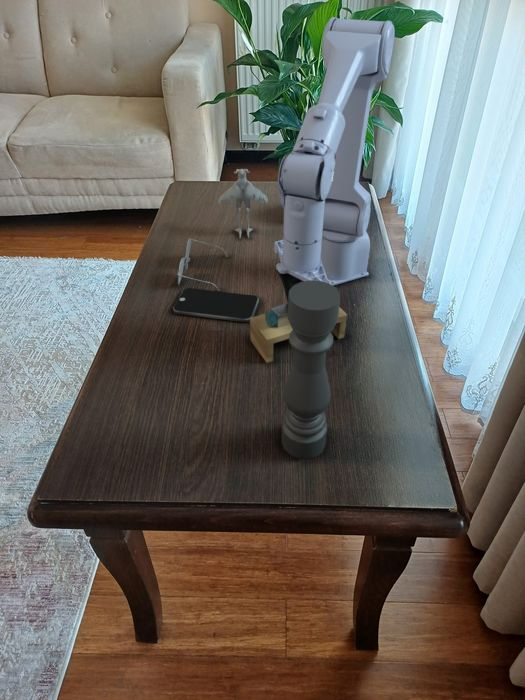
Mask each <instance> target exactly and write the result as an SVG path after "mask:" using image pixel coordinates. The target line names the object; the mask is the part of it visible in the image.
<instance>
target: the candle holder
mask: <svg viewBox="0 0 525 700" xmlns="http://www.w3.org/2000/svg"><path fill="white" fill-rule="evenodd" d="M287 303H288V320H289V322H290V325H291V327H292V329H293V330H292V331H291V332H290V335H289V339H288V342H289V345H290V347H291V349H293V362H292V366H291V368H290V371H289V374H288V376H287V379H286V382H285V384H284V387H283V392H282V393H283V395H282V397H283V401H284V403H285V405H286V408H287V410H286V411H285V413H284V418H283V419H282V425H281V445H282V447H283V450H284V451H285V452H286V453H288V454H289V456H292V457H294V458H297V459H302V460H303V459H304V460H308V459H312V458H316V457H317V456H319V455H320V454H322V453H323V451H324V449H325V447H326V441H327V433H328V423H327V416H326V414H325V411H326V409H327V408H328V406H329V404H330V403H331V387H330V383H329V382H330V381H329V377H328V372H327V368H326V358H327V353H328V351H330V349H331V348H332V346H333V345H334V334H333V333H332V332H331V331H332V330H333V328H334V326H335V325H336V323H337V322H338V313H339V307H340V303H341V292H340V291H339V290H338V288H337V287H335V285H334V286H332V285H331V284H329V283H326V282H322V281H313V280H310V281H304V282H300V283H298V284H296V285H294V286H293V287H292V288H291V289H290V290H289V298H288V302H287Z"/></svg>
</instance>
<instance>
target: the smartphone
mask: <svg viewBox="0 0 525 700" xmlns="http://www.w3.org/2000/svg"><path fill="white" fill-rule="evenodd" d="M259 301H260V299H259V296H258V297H257V296H256V295H252V294H244V293H243V294H242V293H235V292H234V293H233V292H225V291H218V290H217V291H215V290H209V289H198V288H191V287H190V288H185V289H183V290H182V291H181V293H180V295H179V297H178V298H177V300H176V302H175V304H174V306H173V307H172V309H173V310H172V311H173V313H174V314H177V315H184V316H192V317H200V318H206V319H207V318H208V319H214V320H215V319H216V320H223V321H224V320H225V321H232V322H240V323H248V322H249V323H250V318H251V317H255V313H256V311H257V308H258V305H259Z"/></svg>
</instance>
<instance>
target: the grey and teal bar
mask: <svg viewBox="0 0 525 700" xmlns="http://www.w3.org/2000/svg"><path fill="white" fill-rule="evenodd" d="M264 314H265V320H266V323H267V325H268V326H269V327H272V326H275V325H276V326H277V327H282V326H285V325H288V324H290V322H289V320H288V302H287V303H284V304H280V305H277V306H274V307H271V310H270V311H267V312H265V313H264Z"/></svg>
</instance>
